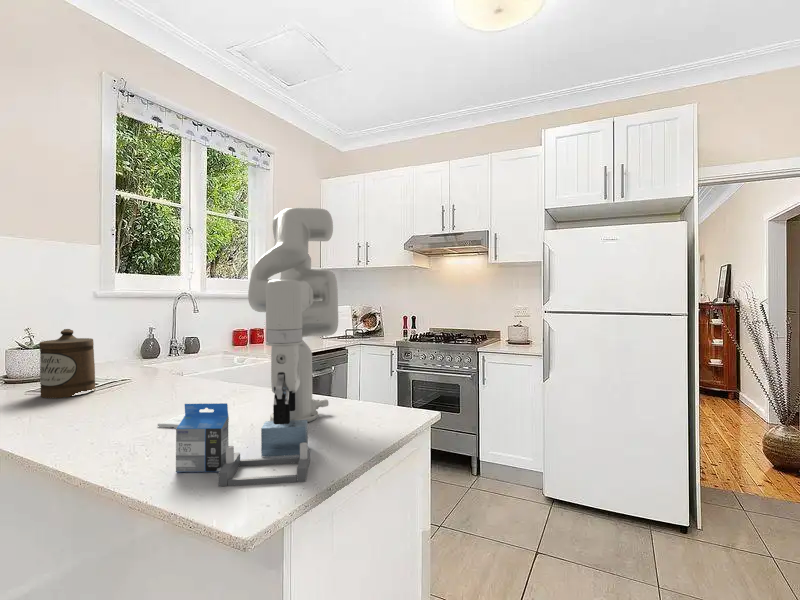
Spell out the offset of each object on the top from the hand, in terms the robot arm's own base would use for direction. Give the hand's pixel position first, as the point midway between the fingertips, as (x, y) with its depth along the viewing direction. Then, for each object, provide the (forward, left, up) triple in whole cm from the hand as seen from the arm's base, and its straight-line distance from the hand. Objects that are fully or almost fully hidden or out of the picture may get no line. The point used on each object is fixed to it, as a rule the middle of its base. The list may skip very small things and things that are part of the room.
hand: (285, 417), depth 93 cm
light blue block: (0, 0, -7) cm, 7 cm away
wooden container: (+33, -99, -8) cm, 104 cm away
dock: (+7, +8, -7) cm, 13 cm away
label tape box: (+16, -2, -8) cm, 18 cm away
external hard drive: (+10, -38, -8) cm, 40 cm away
